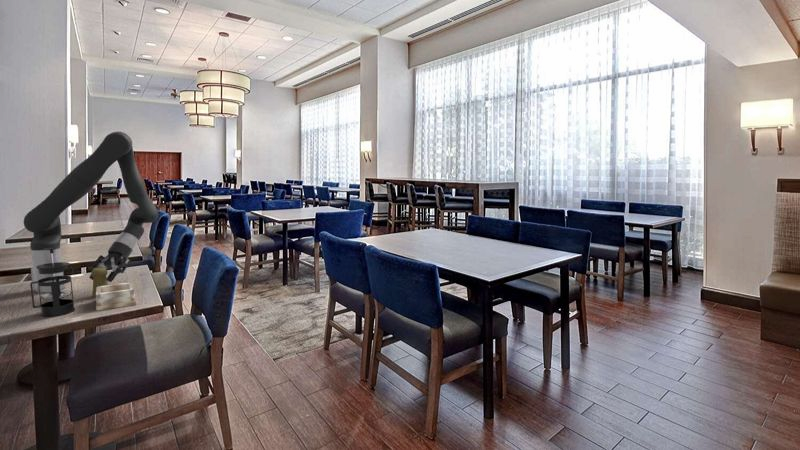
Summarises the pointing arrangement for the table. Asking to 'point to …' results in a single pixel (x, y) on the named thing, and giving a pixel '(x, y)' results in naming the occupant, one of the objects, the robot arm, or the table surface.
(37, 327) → the table surface
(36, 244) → the robot arm
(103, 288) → the cruet holder
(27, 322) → the table surface
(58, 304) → the french press
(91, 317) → the table surface
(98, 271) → the cork
